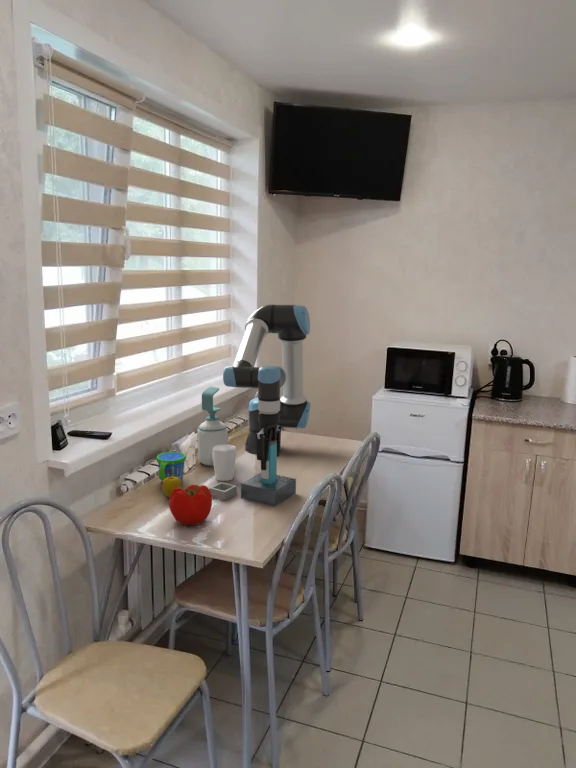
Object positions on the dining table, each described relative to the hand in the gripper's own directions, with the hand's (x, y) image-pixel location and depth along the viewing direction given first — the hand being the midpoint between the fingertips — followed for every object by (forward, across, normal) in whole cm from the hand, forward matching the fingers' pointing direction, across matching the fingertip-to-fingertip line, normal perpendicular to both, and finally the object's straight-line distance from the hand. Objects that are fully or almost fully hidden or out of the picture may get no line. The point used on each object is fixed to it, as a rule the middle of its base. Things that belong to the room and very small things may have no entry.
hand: (268, 476), depth 213 cm
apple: (+8, +19, -28) cm, 35 cm away
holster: (+7, +8, -14) cm, 18 cm away
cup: (+8, -6, -24) cm, 26 cm away
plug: (+4, 0, 0) cm, 4 cm away
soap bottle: (+8, -18, -39) cm, 44 cm away
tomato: (+8, +31, -9) cm, 33 cm away
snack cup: (+8, +8, -38) cm, 40 cm away
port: (+7, 0, 0) cm, 7 cm away
